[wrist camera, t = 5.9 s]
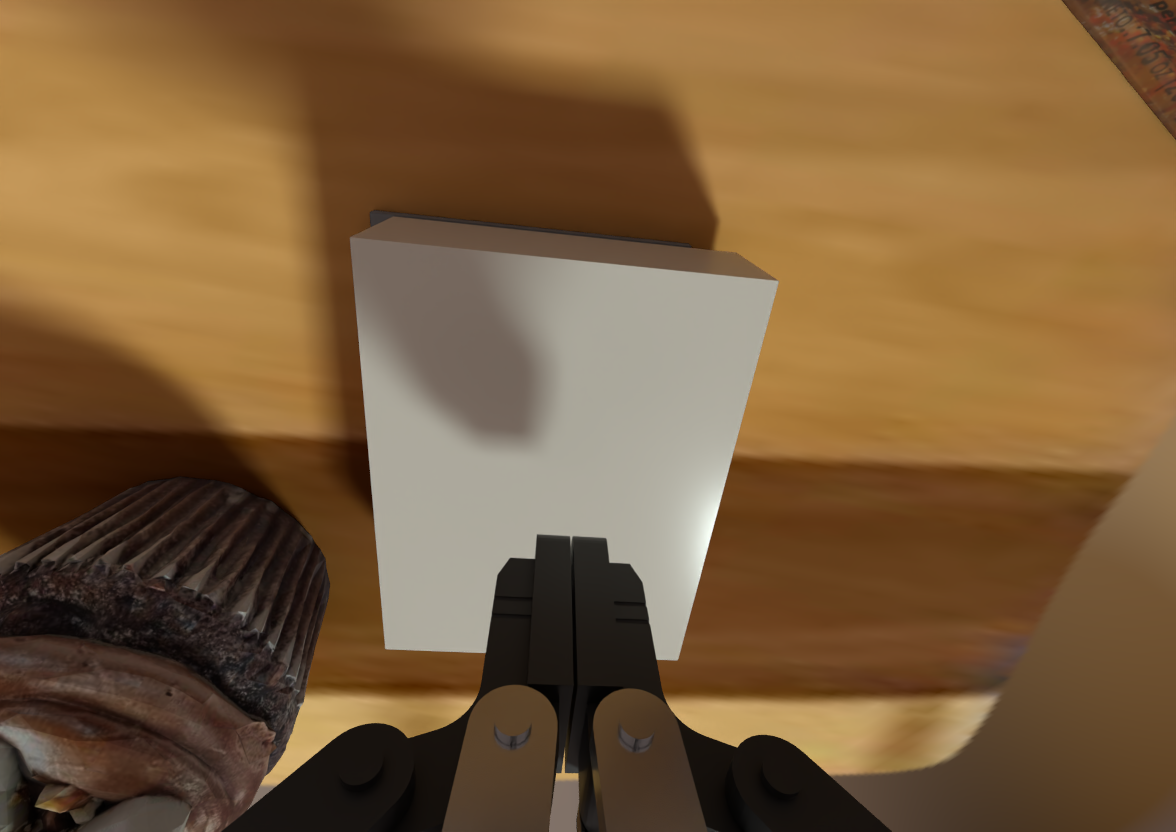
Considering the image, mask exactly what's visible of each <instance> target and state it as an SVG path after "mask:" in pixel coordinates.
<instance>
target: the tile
mask: <svg viewBox="0 0 1176 832" xmlns="http://www.w3.org/2000/svg"><path fill="white" fill-rule="evenodd" d="M350 246H351V258H352V269H353V281H354V292H355V304H356V315H357V327H358V338H359V350H360V362H361V373H362V385H363V396H364V408H365V419H366V431H367V442H368V454H369V465H370V477H371V488H372V500H373V511H374V523H375V534H376V546H377V557H378V569H379V581H380V592H381V604H382V615H383V627H384V638H385V649H395V650H422V651H448V652H474V653H486V648H487V641H488V635H489V628H490V621H491V615H492V608H493V601H494V594H495V587H496V580H497V575H498V573H499V572H500V571H501V569H502V568H503V567H504V565H505V564H506V562H507V561H508V560H509V558H527V559H535V549H536V537H537V534H543V535H561V536H570V540H571V541H572V537H573V536H581V537H599V538H606V539H607V545H608V554H609V563H626V564H630V565H631V566H632V568H633V569H634V571H635V572H636V574H637V575H638V576H639V578H640V579H641V581H642V582H643V588H644V593H645V599H646V607H647V610H648V615H649V624H650V626H651V632H652V637H653V643H654V649H655V654H656V659H657V660H678V658H679V654H680V650H681V646H682V643H683V639H684V635H685V631H686V628H687V624H688V620H689V616H690V613H691V609H692V605H693V601H694V598H695V594H696V590H697V586H698V583H699V579H700V575H701V571H702V568H703V564H704V560H705V556H706V553H707V549H708V545H709V541H710V538H711V534H712V530H713V526H714V523H715V519H716V515H717V511H718V508H719V504H720V500H721V496H722V493H723V489H724V485H725V481H726V478H727V474H728V470H729V466H730V463H731V459H732V455H733V451H734V448H735V444H736V440H737V436H738V433H739V429H740V425H741V421H742V418H743V414H744V410H745V406H746V403H747V399H748V395H749V391H750V388H751V384H752V380H753V376H754V373H755V369H756V365H757V361H758V358H759V354H760V350H761V346H762V343H763V339H764V335H765V331H766V328H767V324H768V320H769V316H770V313H771V309H772V305H773V301H774V298H775V294H776V290H777V286H778V283H779V281H778V280H777V279H775V278H774V277H772V276H771V275H769V274H768V273H766V272H765V271H763V270H762V269H760V268H759V267H757V266H756V265H754V264H753V263H751V262H750V261H748V260H747V259H745V258H744V257H742V256H741V255H739V254H738V253H734V252H724V251H715V250H705V249H696V248H686V247H677V246H668V245H658V244H649V243H639V242H630V241H620V240H611V239H601V238H592V237H583V236H573V235H564V234H554V233H545V232H535V231H526V230H516V229H507V228H498V227H488V226H479V225H469V224H460V223H450V222H441V221H431V220H422V219H412V218H403V217H394V216H393V217H391V218H389V219H387V220H385V221H383V222H381V223H379V224H377V225H374V226H372V227H370V228H368V229H366V230H364V231H362V232H360V233H358V234H356V235H353V236H351V237H350Z"/></svg>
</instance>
